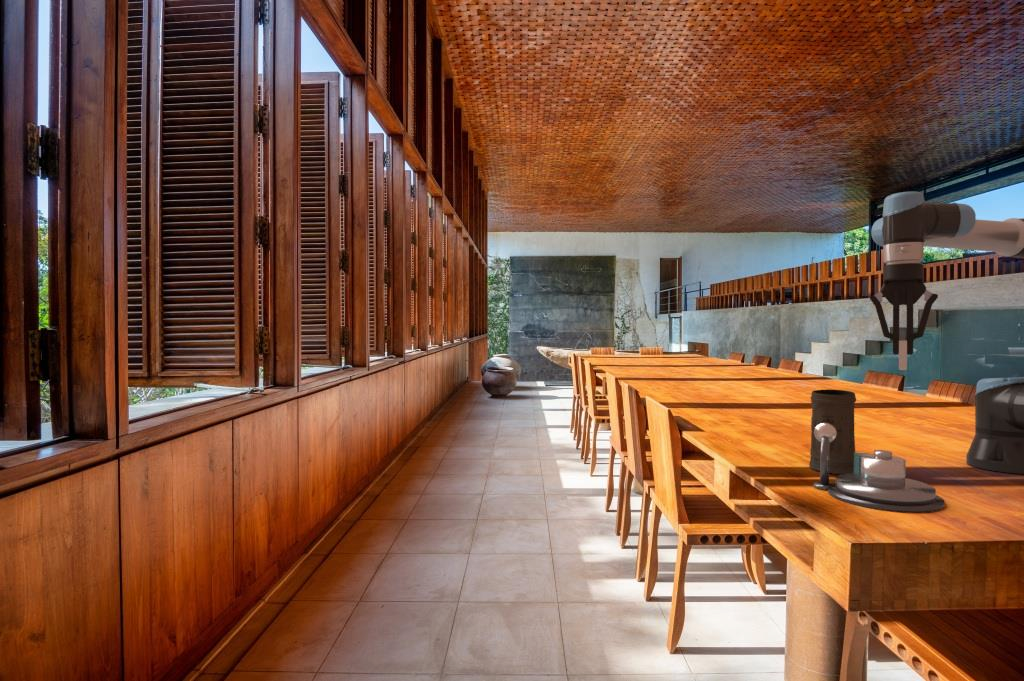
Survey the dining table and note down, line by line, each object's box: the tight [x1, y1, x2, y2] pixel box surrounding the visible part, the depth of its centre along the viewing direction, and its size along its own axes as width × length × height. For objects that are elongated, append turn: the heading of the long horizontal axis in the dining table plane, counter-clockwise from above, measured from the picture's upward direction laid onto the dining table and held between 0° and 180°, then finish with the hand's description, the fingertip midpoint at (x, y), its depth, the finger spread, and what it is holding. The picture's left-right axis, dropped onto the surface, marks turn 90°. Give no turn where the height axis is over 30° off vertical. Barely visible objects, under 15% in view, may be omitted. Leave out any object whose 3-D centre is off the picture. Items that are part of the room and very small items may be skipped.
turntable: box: [835, 451, 937, 506], centre depth 129 cm, size 22×18×6 cm
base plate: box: [827, 482, 946, 513], centre depth 127 cm, size 21×21×1 cm
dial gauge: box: [813, 423, 837, 492], centre depth 134 cm, size 4×4×15 cm
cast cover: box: [861, 449, 907, 490], centre depth 126 cm, size 8×8×7 cm
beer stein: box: [808, 388, 857, 475], centre depth 153 cm, size 15×11×20 cm
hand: (902, 369), depth 134 cm, fingers closed
